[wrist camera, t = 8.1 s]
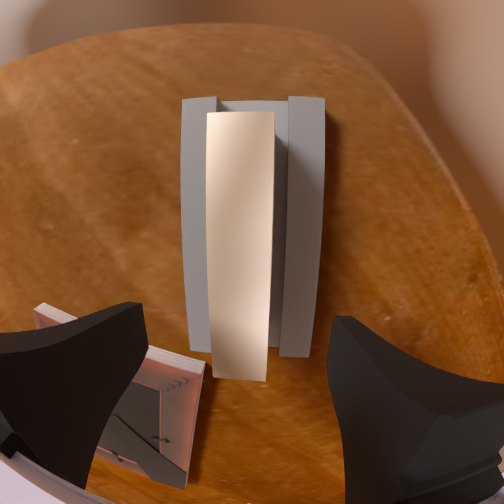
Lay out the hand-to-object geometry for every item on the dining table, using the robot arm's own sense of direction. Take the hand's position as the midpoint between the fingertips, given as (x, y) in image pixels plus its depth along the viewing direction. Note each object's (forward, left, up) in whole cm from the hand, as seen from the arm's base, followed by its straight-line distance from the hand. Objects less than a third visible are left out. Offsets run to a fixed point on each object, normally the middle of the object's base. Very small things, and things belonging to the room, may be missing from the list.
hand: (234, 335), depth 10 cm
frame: (+1, -2, -8) cm, 8 cm away
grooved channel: (+1, -2, -9) cm, 9 cm away
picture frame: (+9, +20, -10) cm, 24 cm away
